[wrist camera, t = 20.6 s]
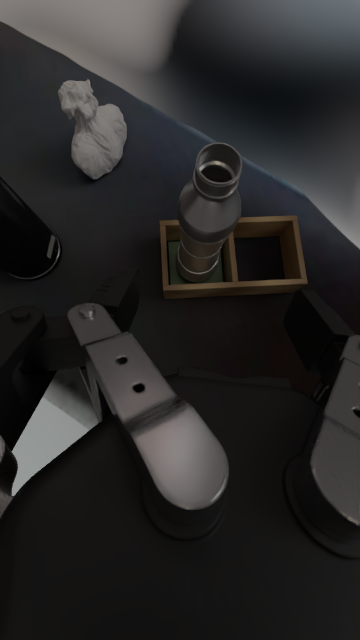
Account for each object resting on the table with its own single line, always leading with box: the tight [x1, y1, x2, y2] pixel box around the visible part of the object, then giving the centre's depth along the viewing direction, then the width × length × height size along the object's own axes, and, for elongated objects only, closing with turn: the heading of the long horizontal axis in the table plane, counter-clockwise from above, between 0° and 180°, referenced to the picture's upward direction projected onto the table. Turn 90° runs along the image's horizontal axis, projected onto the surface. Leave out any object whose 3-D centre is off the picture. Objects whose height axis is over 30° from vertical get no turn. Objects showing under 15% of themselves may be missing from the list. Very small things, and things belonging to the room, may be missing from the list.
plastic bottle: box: [175, 142, 242, 282], centre depth 28 cm, size 6×7×20 cm
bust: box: [58, 80, 127, 180], centre depth 36 cm, size 12×8×11 cm
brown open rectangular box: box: [160, 216, 307, 299], centre depth 36 cm, size 20×11×4 cm, turn 93°
